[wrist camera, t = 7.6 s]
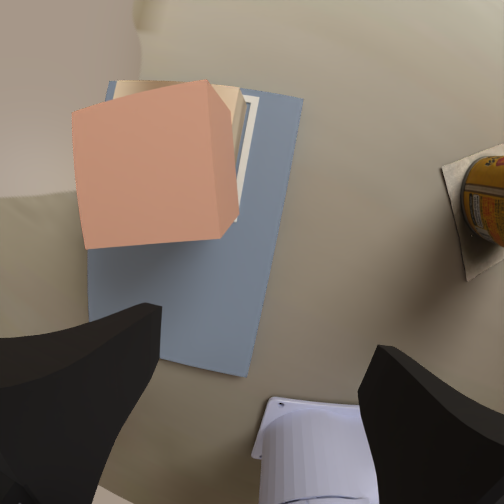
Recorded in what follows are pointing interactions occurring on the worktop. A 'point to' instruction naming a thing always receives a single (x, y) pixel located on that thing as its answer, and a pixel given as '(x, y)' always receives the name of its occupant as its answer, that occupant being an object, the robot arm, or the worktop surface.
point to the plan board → (211, 254)
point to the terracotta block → (155, 167)
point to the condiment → (478, 207)
